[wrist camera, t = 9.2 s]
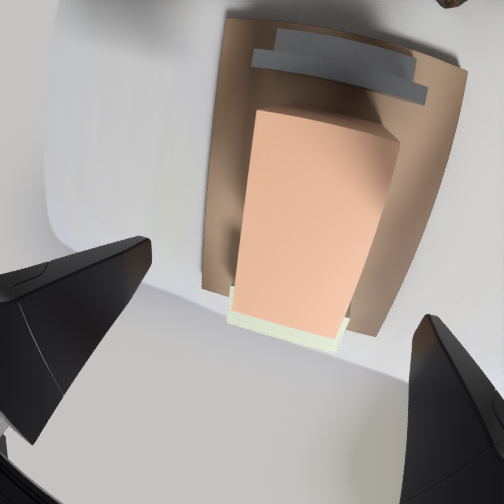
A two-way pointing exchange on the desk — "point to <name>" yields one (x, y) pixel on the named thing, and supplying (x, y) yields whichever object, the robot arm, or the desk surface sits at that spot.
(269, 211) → the peach rectangular block
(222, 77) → the shelf board
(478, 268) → the desk surface
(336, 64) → the bookend
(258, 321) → the pale green rectangular block
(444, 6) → the book
